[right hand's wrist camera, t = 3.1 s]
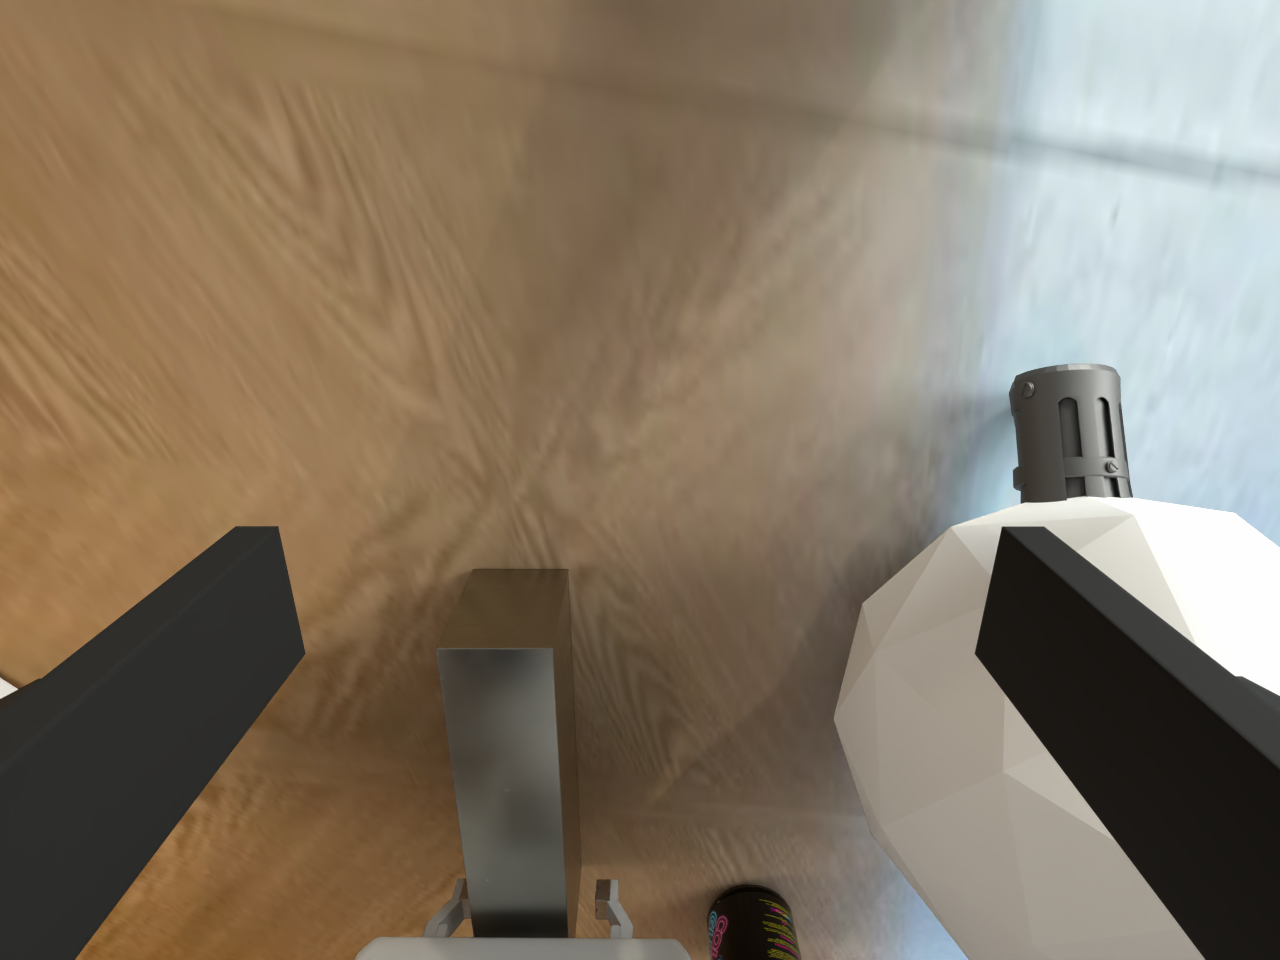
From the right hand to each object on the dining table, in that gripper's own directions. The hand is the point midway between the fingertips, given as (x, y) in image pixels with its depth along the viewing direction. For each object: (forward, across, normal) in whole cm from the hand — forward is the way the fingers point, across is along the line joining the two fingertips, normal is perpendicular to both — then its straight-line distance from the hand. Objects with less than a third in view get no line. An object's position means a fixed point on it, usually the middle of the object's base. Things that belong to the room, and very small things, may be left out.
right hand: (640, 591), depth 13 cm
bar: (+27, -8, -27) cm, 39 cm away
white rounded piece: (+27, +22, -15) cm, 38 cm away
